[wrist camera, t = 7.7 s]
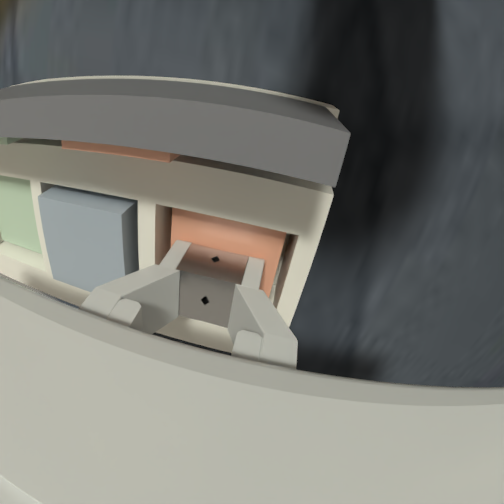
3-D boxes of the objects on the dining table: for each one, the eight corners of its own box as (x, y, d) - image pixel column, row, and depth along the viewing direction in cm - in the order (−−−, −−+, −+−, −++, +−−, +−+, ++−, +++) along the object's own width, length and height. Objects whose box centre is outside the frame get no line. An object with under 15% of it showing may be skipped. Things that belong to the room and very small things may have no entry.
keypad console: (332, 104, 11) (378, 142, 5) (284, 279, 16) (267, 417, 9) (42, 79, 12) (-79, 115, 5) (49, 221, 17) (-35, 297, 10)
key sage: (66, 163, 11) (36, 180, 10) (73, 234, 13) (48, 256, 12) (17, 158, 11) (-11, 172, 10) (26, 221, 13) (2, 239, 12)
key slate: (149, 189, 10) (121, 214, 8) (149, 272, 12) (128, 304, 10) (70, 176, 10) (37, 196, 9) (78, 252, 12) (53, 278, 11)
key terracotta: (289, 205, 11) (286, 231, 9) (269, 283, 13) (263, 316, 11) (192, 184, 11) (172, 206, 9) (186, 263, 13) (169, 293, 11)
